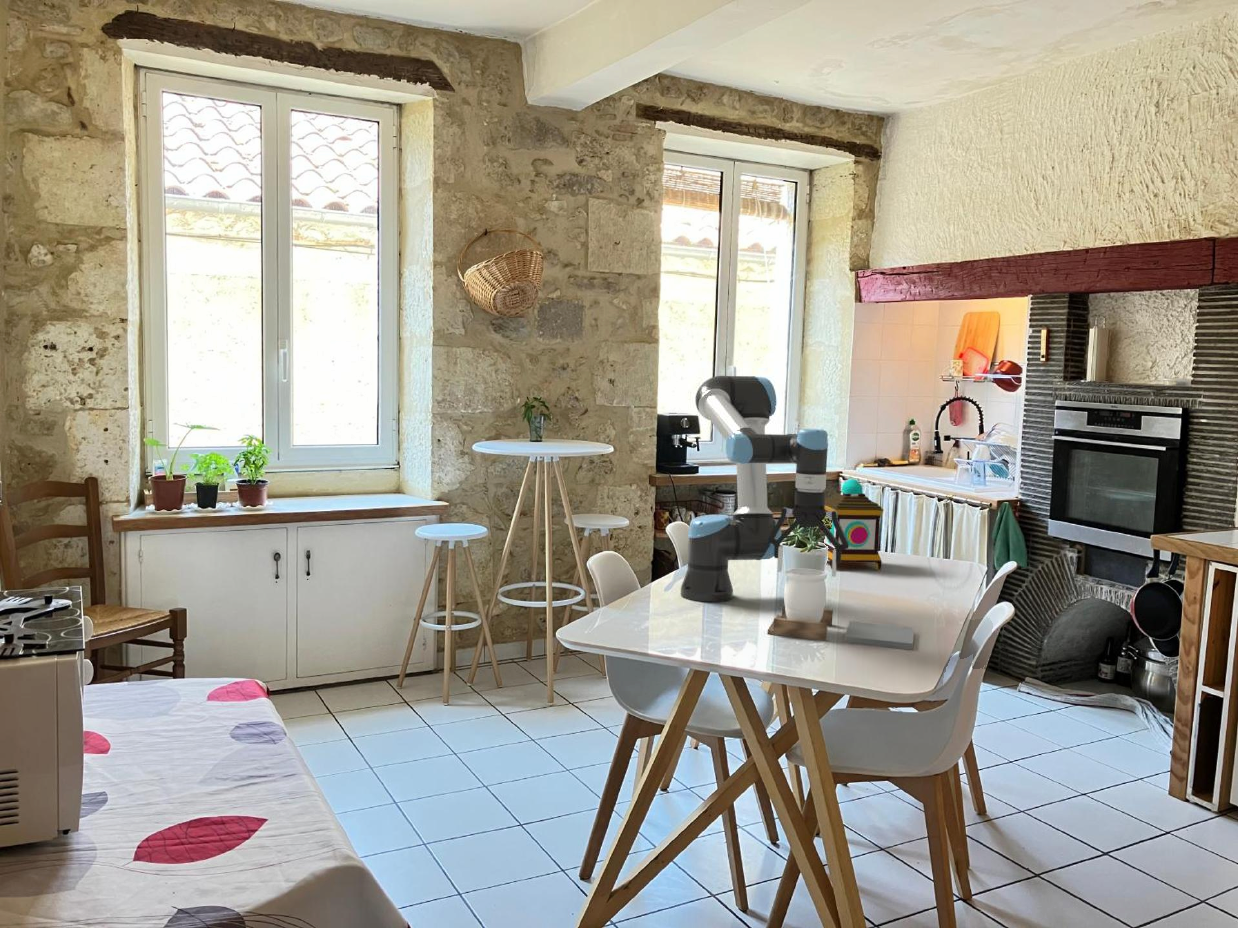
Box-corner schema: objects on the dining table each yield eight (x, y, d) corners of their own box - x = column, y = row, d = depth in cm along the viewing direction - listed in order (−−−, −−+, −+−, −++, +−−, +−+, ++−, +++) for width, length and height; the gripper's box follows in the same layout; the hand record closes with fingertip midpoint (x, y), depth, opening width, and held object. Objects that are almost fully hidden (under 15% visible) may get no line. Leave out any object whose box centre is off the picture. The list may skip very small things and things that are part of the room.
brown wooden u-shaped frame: (767, 633, 247) (768, 618, 247) (777, 618, 263) (777, 603, 262) (825, 640, 243) (826, 624, 242) (832, 624, 258) (832, 609, 258)
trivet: (844, 642, 242) (844, 636, 242) (849, 626, 257) (849, 620, 257) (912, 649, 237) (912, 643, 237) (913, 633, 252) (913, 627, 252)
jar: (799, 636, 246) (802, 577, 244) (774, 626, 255) (776, 569, 253) (832, 632, 250) (835, 574, 249) (807, 622, 260) (809, 566, 258)
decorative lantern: (811, 559, 348) (815, 474, 345) (865, 559, 350) (870, 475, 347) (829, 571, 328) (834, 481, 325) (886, 571, 330) (891, 482, 327)
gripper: (758, 488, 249) (755, 571, 251) (860, 494, 242) (855, 580, 244) (763, 486, 256) (760, 566, 258) (862, 491, 249) (857, 574, 251)
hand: (806, 573), depth 251 cm, fingers open, 13 cm apart
